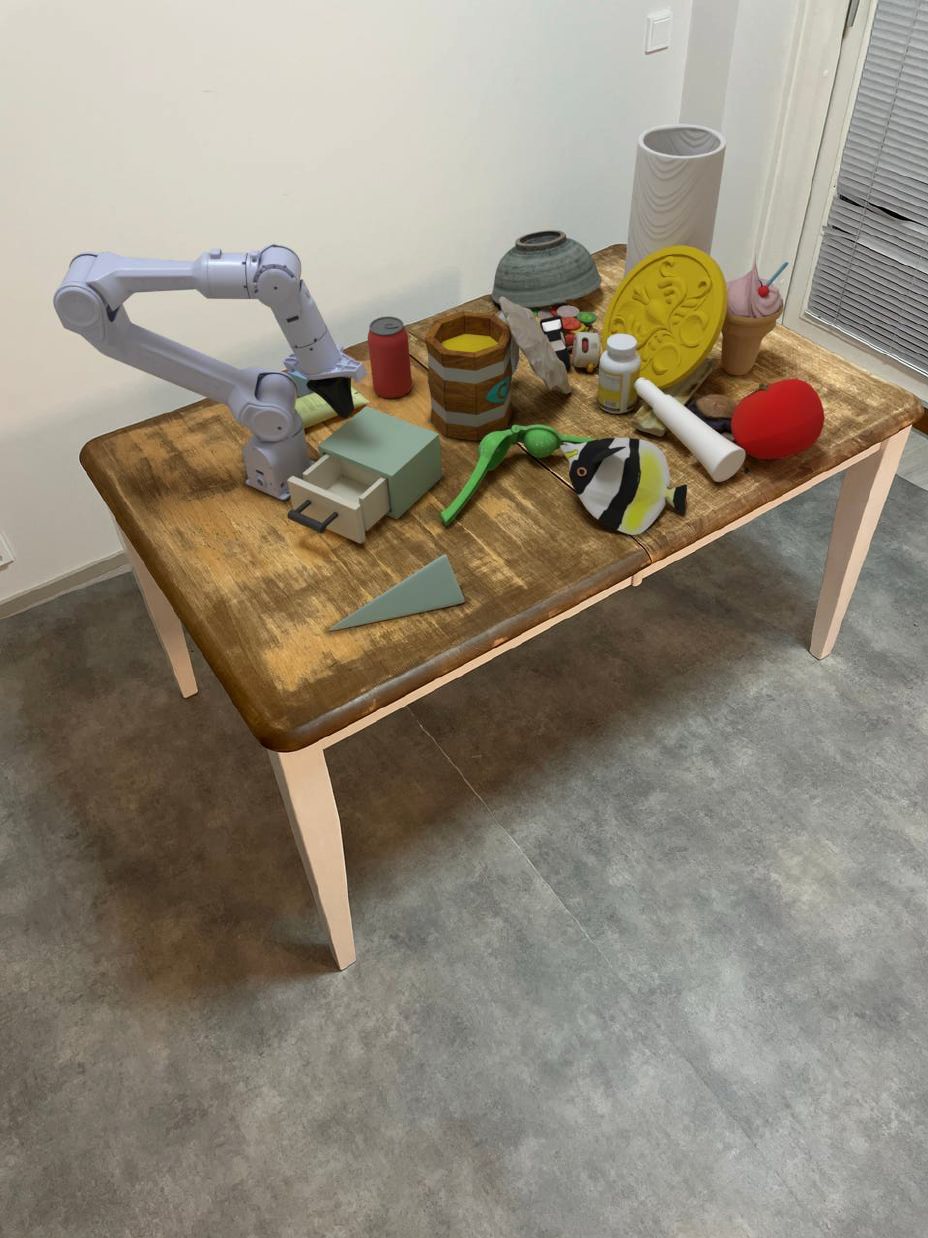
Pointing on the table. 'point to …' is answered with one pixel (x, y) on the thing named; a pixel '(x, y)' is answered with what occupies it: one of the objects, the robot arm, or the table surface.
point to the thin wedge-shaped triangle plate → (411, 596)
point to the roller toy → (586, 350)
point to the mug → (471, 374)
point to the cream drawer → (339, 498)
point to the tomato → (778, 419)
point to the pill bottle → (618, 374)
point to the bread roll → (715, 412)
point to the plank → (680, 392)
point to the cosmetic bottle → (693, 433)
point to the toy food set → (568, 320)
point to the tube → (321, 408)
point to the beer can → (389, 357)
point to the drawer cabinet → (389, 454)
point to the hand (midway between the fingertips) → (347, 413)
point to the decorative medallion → (670, 312)
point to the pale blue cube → (301, 384)
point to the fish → (622, 481)
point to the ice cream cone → (748, 319)
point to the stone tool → (535, 345)
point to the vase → (674, 190)
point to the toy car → (556, 338)
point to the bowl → (545, 271)
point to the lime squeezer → (494, 449)
